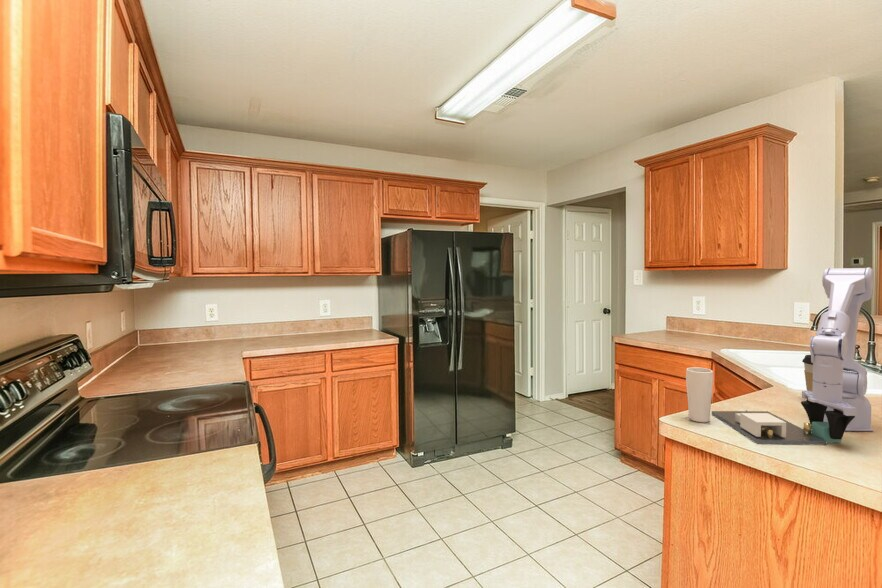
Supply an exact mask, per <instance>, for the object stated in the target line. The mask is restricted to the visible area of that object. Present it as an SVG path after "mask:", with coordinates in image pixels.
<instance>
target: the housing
mask: <svg viewBox="0 0 882 588" xmlns="http://www.w3.org/2000/svg"><path fill="white" fill-rule="evenodd" d="M735 420H736V421H737V422H739V423H740V427H742V428H743V429H745V430H746V431H748V432H750V433H751V434H753V435H755V436H756V437H761V425H765V428H767V429H773V432H774V433H775V434H777V435H779V436H781V437H786V422H784V421H782V420H780V419H778V418H776V417H774V416H772V415H771V414H769V413H735Z"/></svg>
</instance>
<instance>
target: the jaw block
mask: <svg viewBox="0 0 882 588" xmlns="http://www.w3.org/2000/svg"><path fill="white" fill-rule="evenodd" d="M811 433H812V434H814V435H816V436H818V437H820V438H822V439H824V440H826V442H841V443H842V439H831V437H830V432H829V423H828V422H812V430H811Z"/></svg>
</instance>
